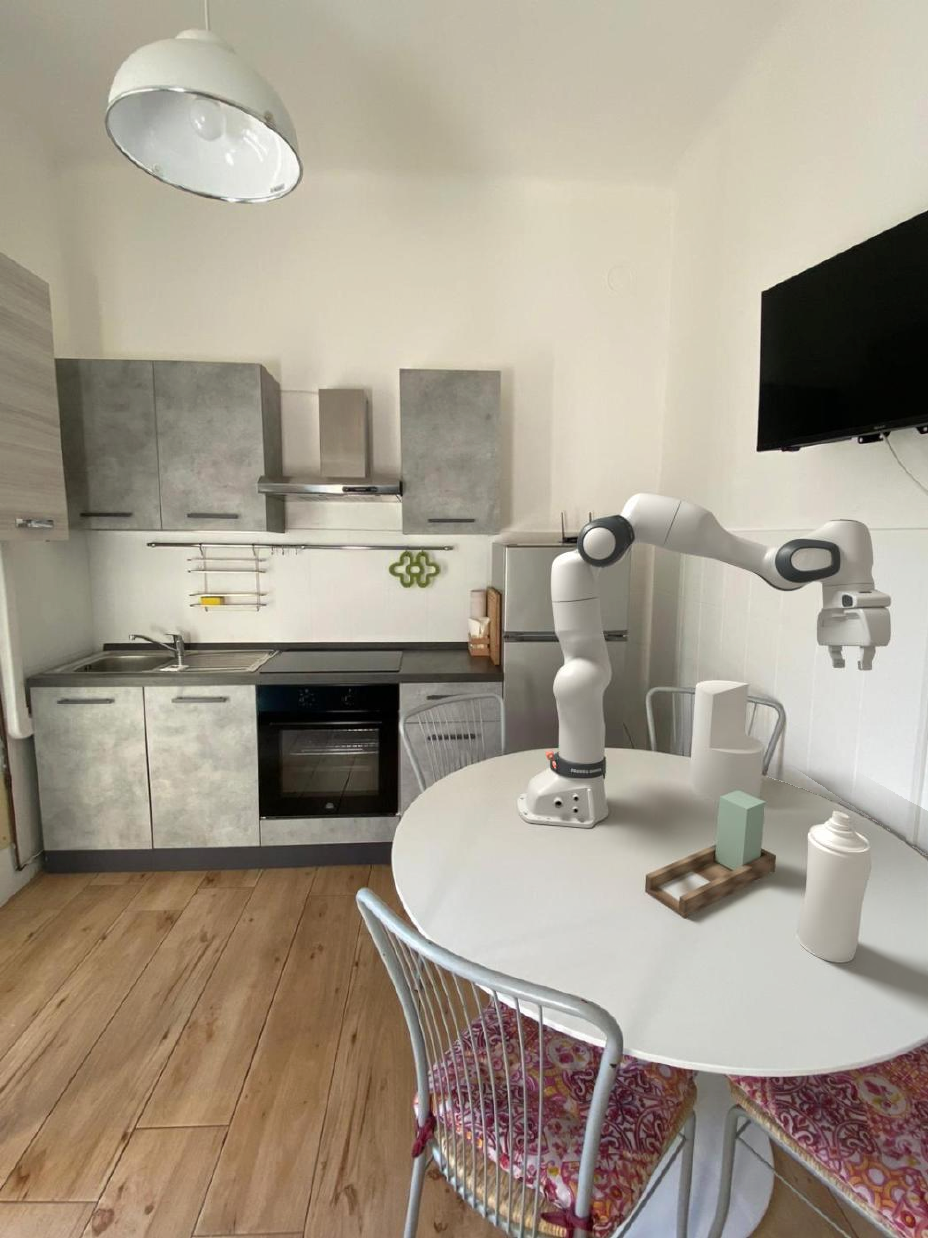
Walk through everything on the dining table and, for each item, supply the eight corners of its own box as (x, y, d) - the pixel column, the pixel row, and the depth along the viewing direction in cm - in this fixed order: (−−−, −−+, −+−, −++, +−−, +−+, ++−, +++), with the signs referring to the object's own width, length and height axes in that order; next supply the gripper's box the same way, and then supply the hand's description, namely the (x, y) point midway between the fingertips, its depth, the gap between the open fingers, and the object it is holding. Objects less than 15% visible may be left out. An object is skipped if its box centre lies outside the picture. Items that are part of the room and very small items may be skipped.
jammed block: (732, 852, 123) (737, 790, 121) (759, 866, 118) (765, 801, 116) (714, 860, 120) (719, 797, 118) (741, 875, 115) (747, 809, 113)
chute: (734, 850, 126) (735, 835, 126) (774, 871, 119) (776, 855, 118) (644, 891, 112) (645, 875, 112) (683, 918, 105) (685, 900, 104)
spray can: (884, 970, 92) (903, 824, 88) (827, 981, 90) (844, 831, 86) (825, 922, 103) (839, 790, 100) (773, 931, 101) (786, 796, 97)
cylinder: (676, 787, 157) (682, 686, 153) (711, 771, 167) (718, 677, 163) (738, 812, 143) (746, 702, 139) (772, 793, 154) (781, 691, 149)
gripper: (807, 603, 128) (809, 666, 127) (860, 597, 107) (863, 672, 107) (837, 603, 127) (840, 666, 126) (896, 596, 107) (900, 671, 106)
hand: (851, 669), depth 116 cm, fingers open, 8 cm apart
